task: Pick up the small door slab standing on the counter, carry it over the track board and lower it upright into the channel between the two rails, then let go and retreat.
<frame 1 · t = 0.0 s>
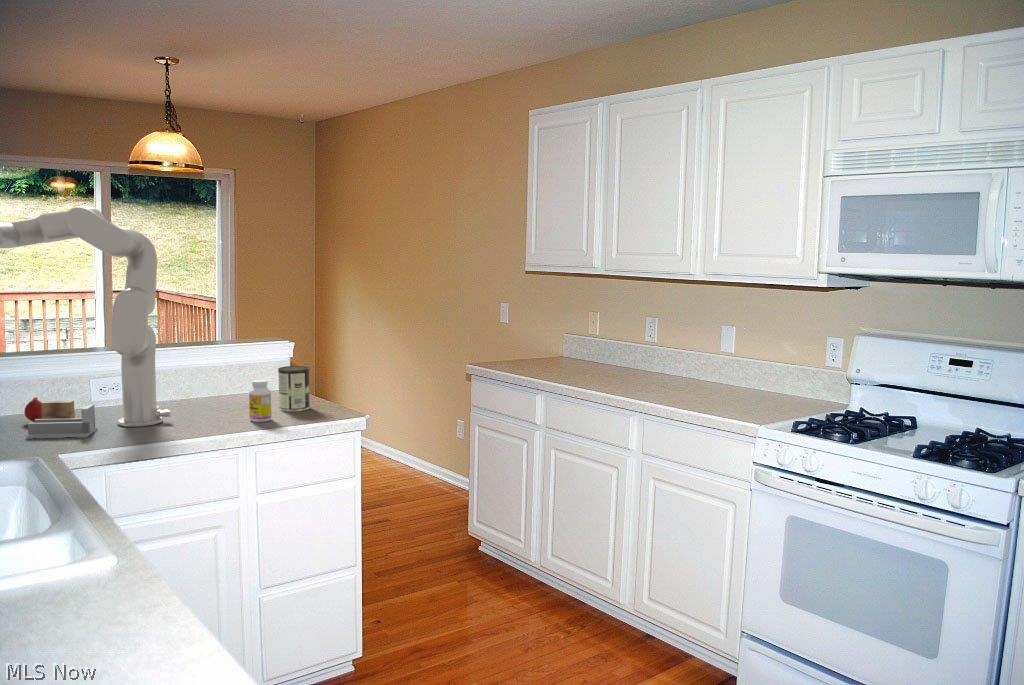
onion: (36, 423, 247), on the table
door slab: (59, 427, 241), on the table
coffee can: (294, 409, 274), on the table
supplement bottle: (260, 420, 256), on the table
track: (62, 434, 233), on the table
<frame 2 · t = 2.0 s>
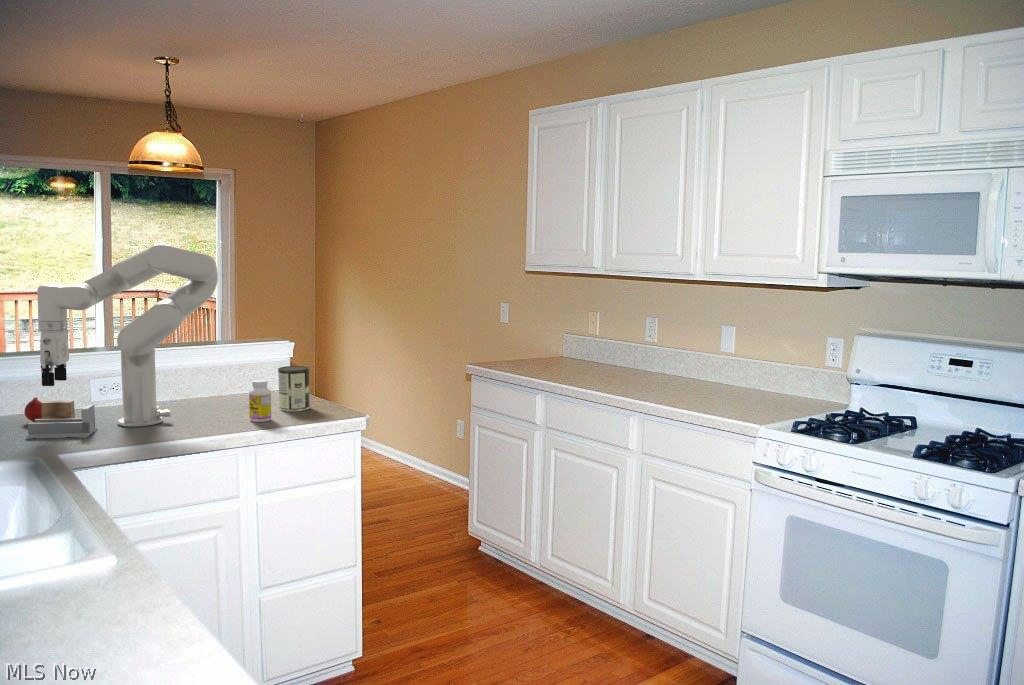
hand: (54, 383, 239), 14 cm above the table, tool pointing down, fingers open, 9 cm apart
nothing on the table moved.
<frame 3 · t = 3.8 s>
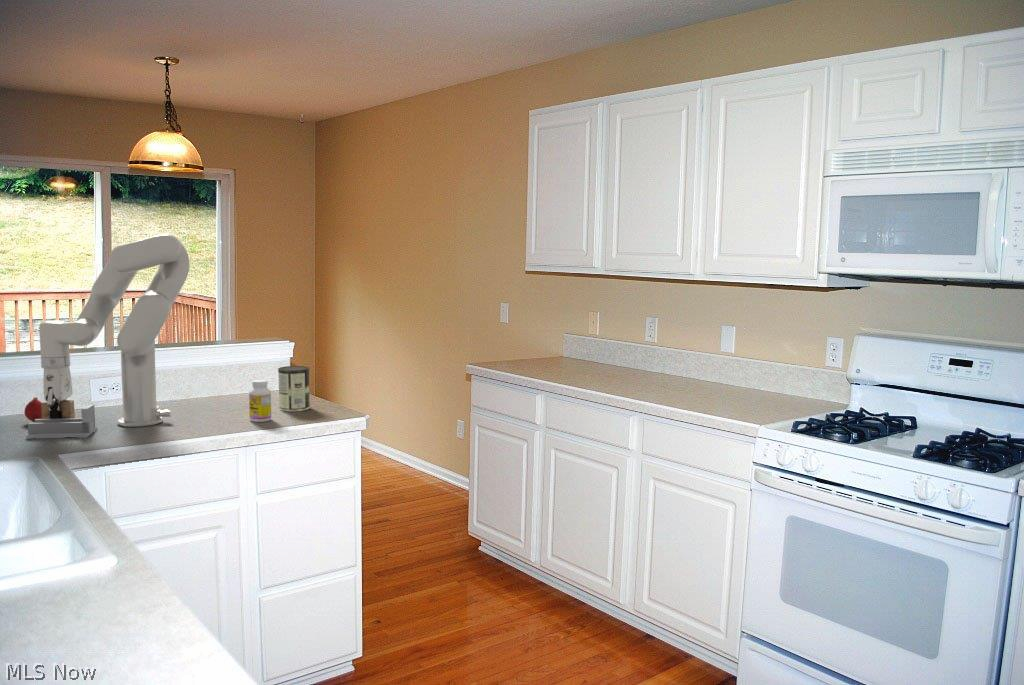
hand: (58, 421, 241), 2 cm above the table, tool pointing down, fingers closed on door slab, 3 cm apart
door slab: (59, 427, 241), on the table, touching gripper
everything else where it was.
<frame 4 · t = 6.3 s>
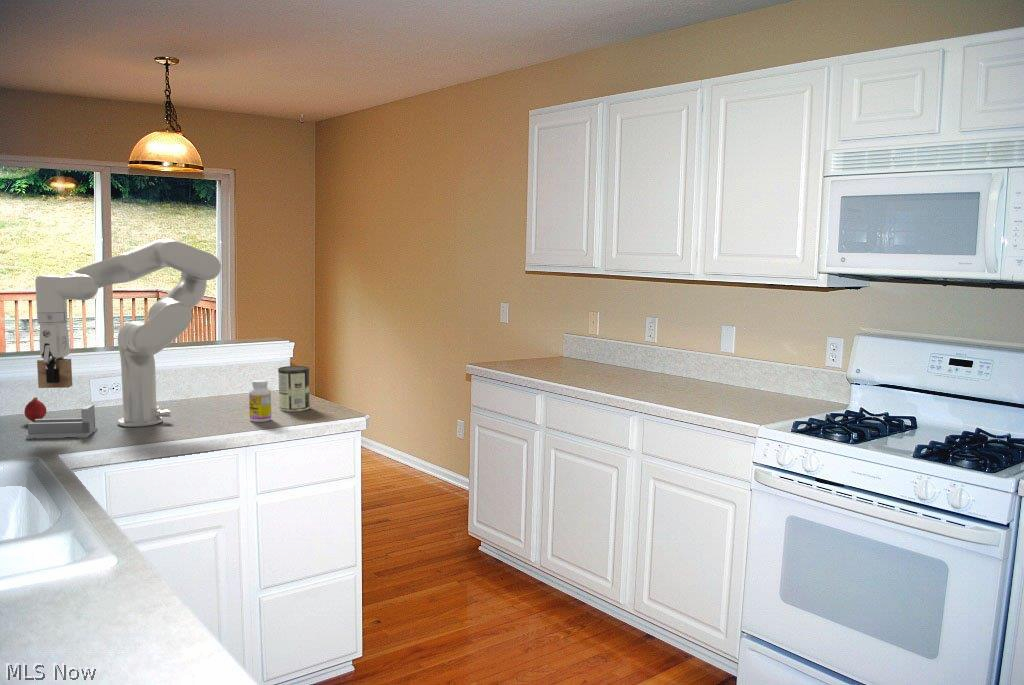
hand: (55, 380, 231), 16 cm above the table, tool pointing down, fingers closed on door slab, 3 cm apart
door slab: (55, 386, 231), point 14 cm above the table, touching gripper
everything else where it was.
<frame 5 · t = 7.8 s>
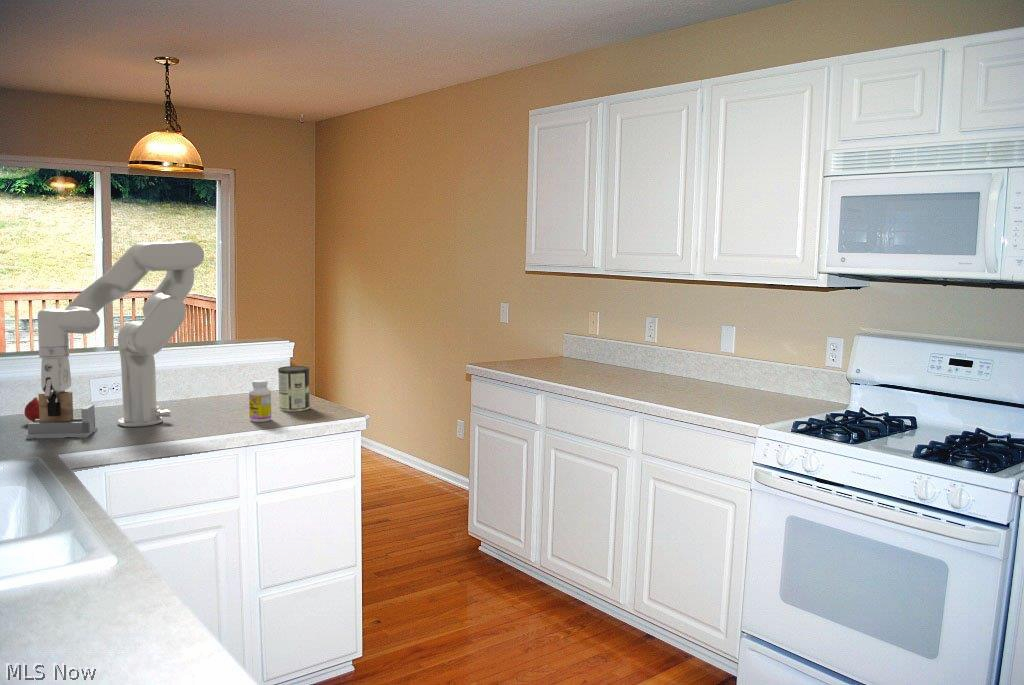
hand: (56, 414, 232), 6 cm above the table, tool pointing down, fingers closed on door slab, 3 cm apart
door slab: (56, 419, 232), point 4 cm above the table, touching gripper
everything else where it was.
when the fingers open (5 cm above the table, at t = 9.1 s): door slab drops 2 cm, resting on track.
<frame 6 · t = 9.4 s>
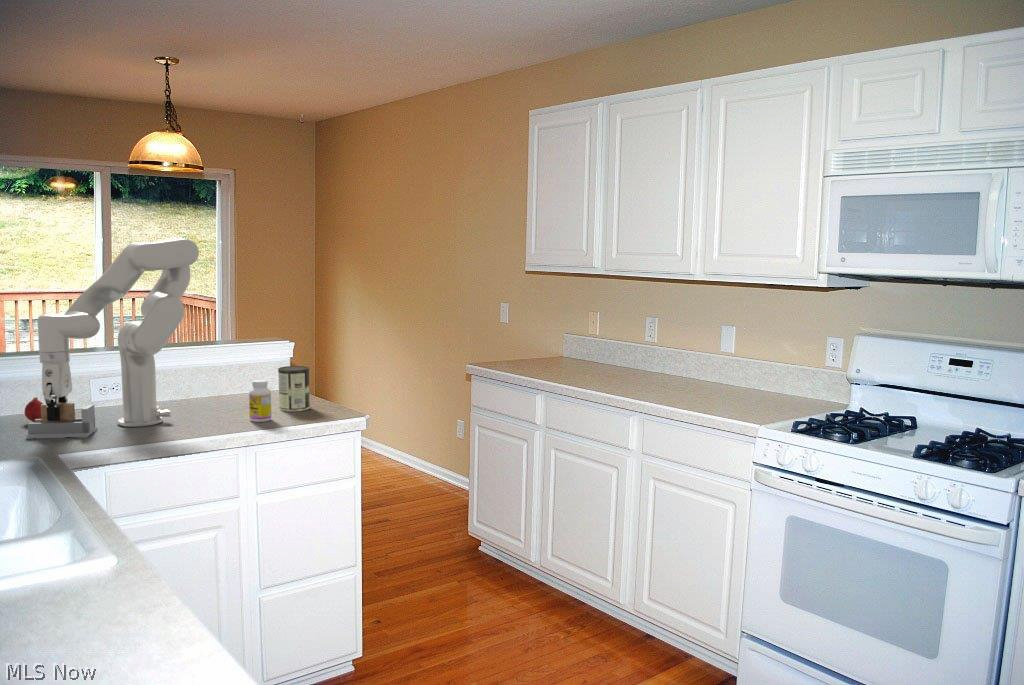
hand: (57, 417, 233), 5 cm above the table, tool pointing down, fingers open, 5 cm apart
door slab: (59, 430, 233), point 1 cm above the table, touching track
everything else where it was.
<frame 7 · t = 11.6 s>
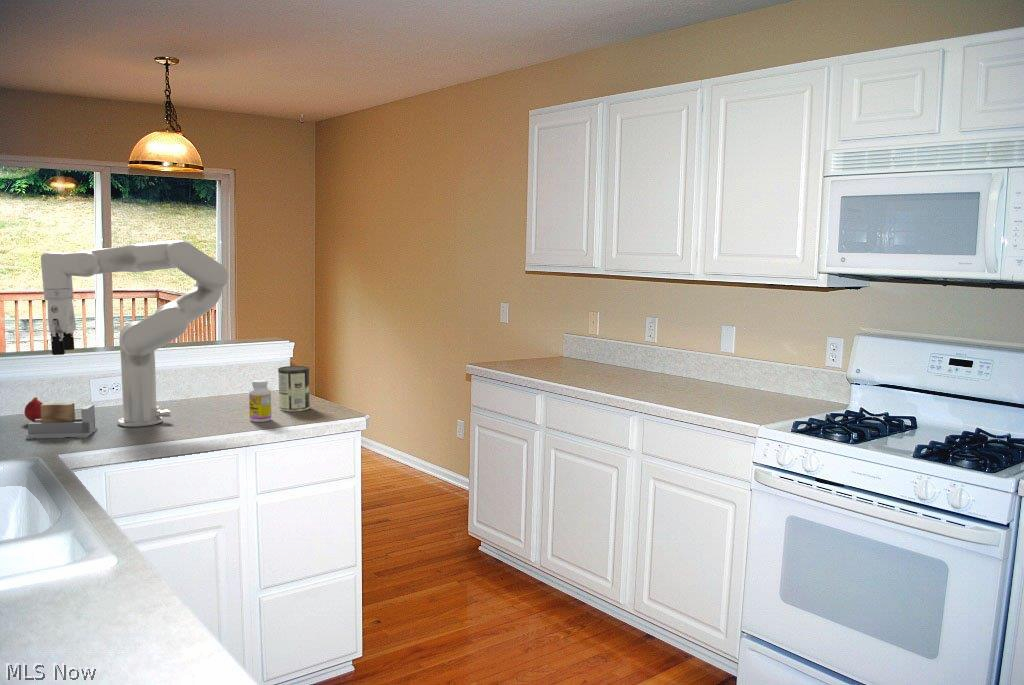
hand: (63, 352, 237), 23 cm above the table, tool pointing down, fingers open, 9 cm apart
nothing on the table moved.
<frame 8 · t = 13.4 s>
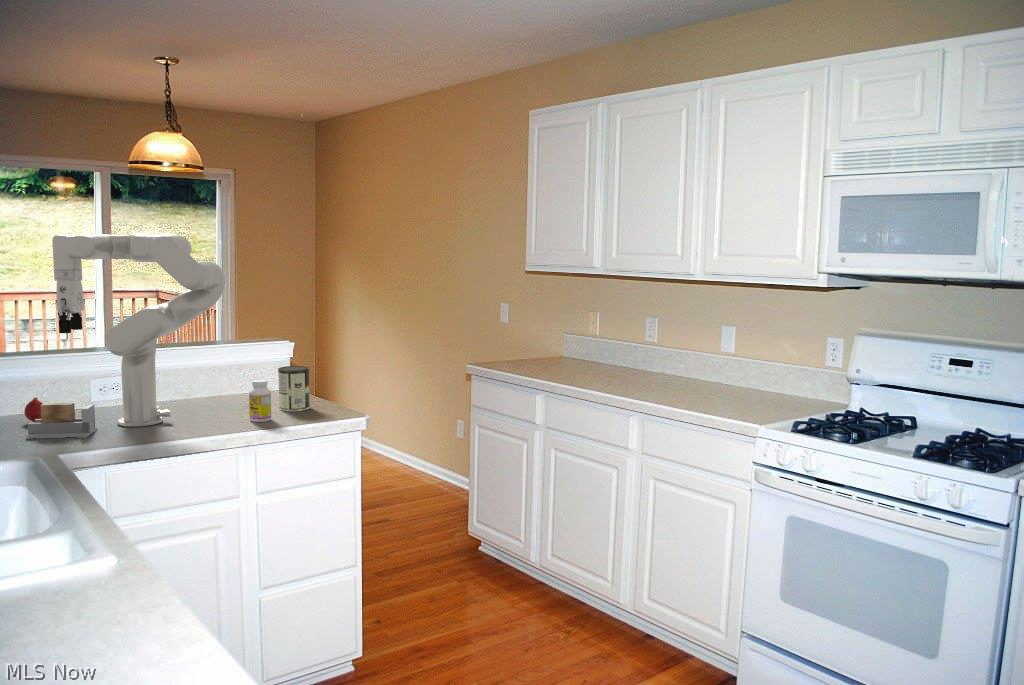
hand: (71, 331, 246), 28 cm above the table, tool pointing down, fingers open, 9 cm apart
nothing on the table moved.
at the end: door slab inside the target area on the track (1.0 cm from its centre), point 1.0 cm above the track's base; door slab tilted 0°; the gripper is holding nothing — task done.
